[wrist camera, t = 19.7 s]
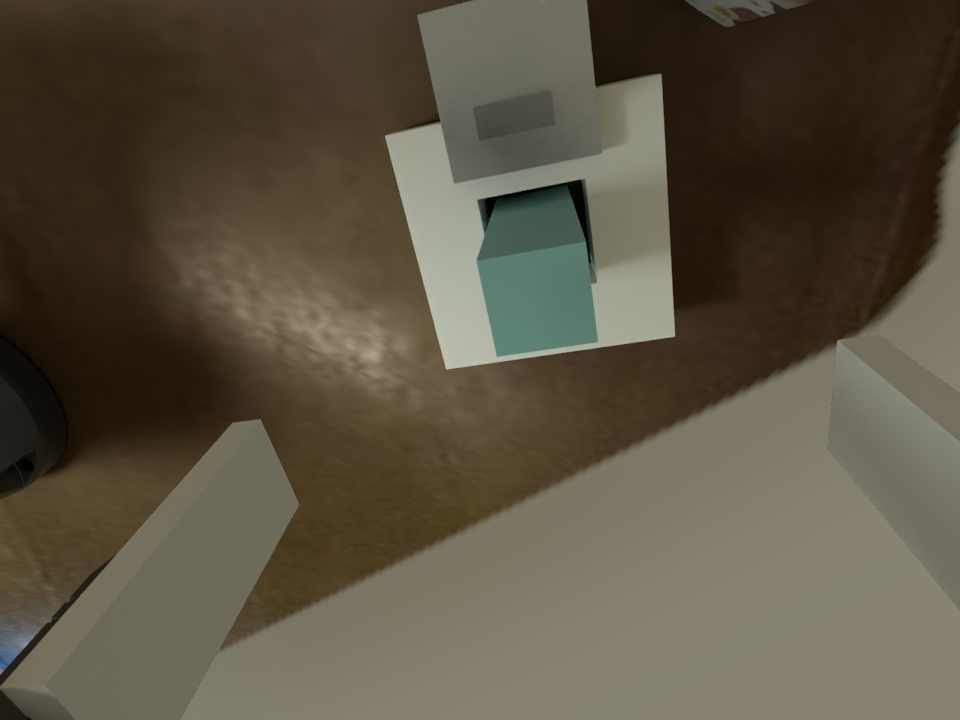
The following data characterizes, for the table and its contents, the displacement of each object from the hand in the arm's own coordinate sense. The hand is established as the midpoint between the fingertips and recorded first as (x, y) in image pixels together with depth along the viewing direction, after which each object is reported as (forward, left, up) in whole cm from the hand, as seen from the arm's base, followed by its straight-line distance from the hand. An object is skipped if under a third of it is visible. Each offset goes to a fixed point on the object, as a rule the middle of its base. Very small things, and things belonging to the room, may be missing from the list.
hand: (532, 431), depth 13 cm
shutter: (0, +7, -17) cm, 18 cm away
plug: (0, 0, -21) cm, 21 cm away
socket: (0, 0, -21) cm, 21 cm away
